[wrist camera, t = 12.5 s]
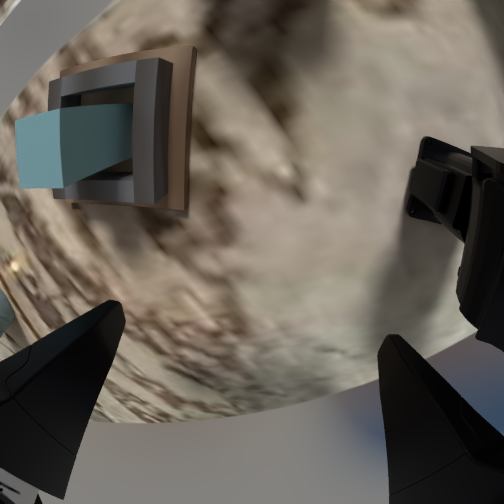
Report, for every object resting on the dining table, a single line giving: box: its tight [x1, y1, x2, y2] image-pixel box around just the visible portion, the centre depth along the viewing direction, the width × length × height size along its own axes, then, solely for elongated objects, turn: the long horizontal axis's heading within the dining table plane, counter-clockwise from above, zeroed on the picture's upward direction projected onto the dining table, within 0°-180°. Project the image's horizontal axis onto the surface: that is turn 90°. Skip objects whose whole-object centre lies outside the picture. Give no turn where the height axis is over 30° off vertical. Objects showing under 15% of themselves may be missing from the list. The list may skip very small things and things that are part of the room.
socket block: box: [48, 46, 197, 210], centre depth 16 cm, size 12×12×4 cm
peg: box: [15, 103, 133, 188], centre depth 13 cm, size 4×4×8 cm
